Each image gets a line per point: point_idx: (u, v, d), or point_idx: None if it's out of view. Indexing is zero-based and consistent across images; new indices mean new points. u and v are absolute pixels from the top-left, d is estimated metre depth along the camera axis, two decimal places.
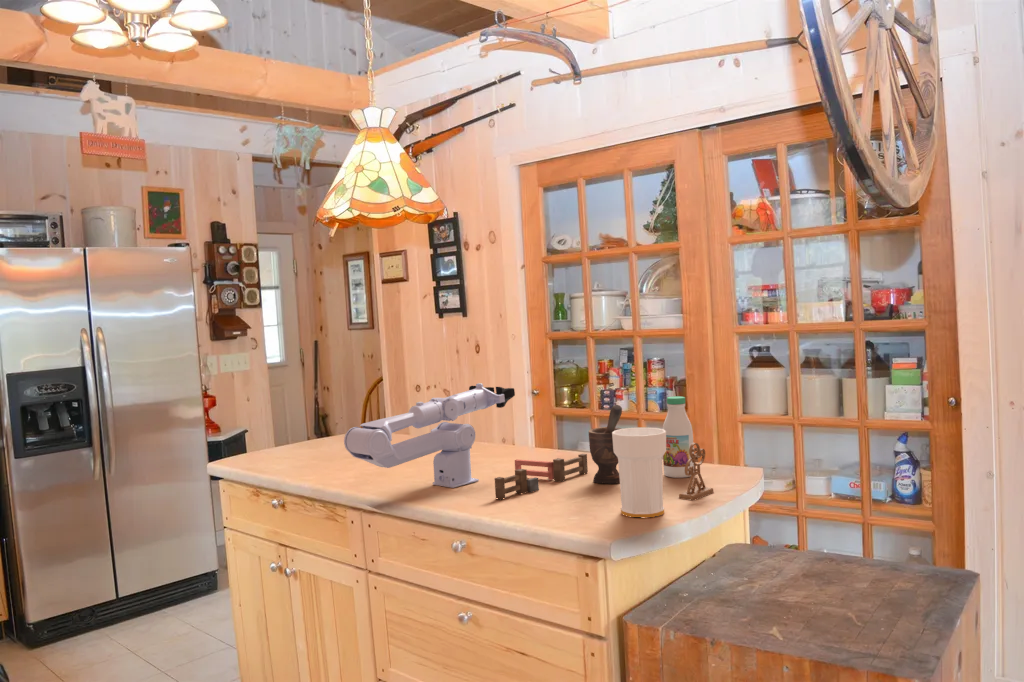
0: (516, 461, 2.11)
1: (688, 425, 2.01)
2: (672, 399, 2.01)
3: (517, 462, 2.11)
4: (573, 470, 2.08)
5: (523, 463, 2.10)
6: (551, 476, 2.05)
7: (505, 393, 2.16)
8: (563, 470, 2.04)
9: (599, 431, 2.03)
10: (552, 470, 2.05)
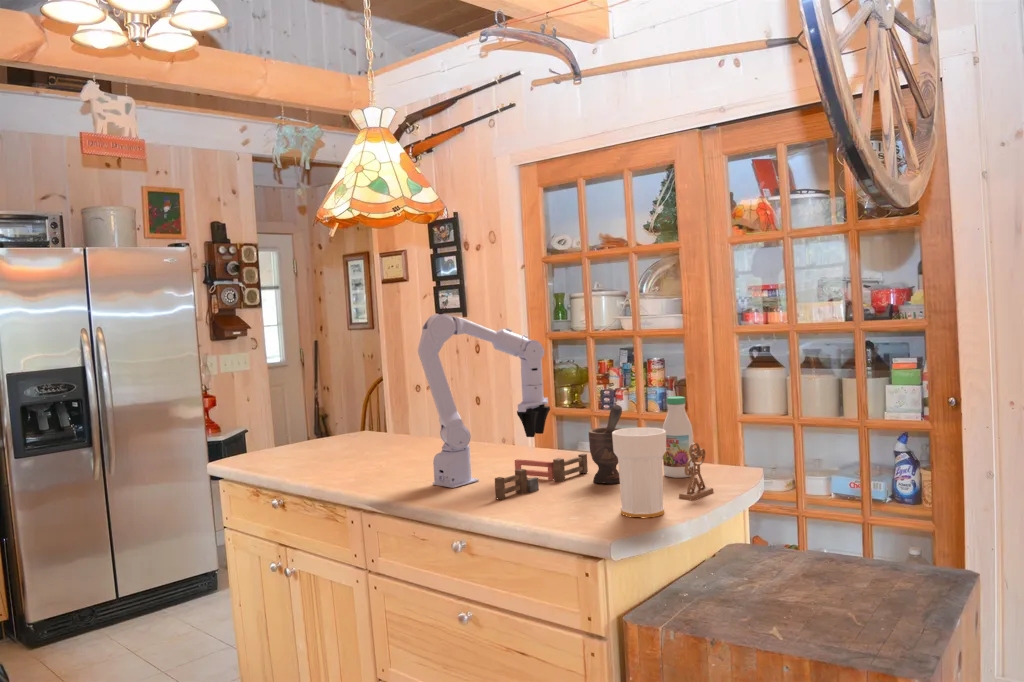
0: (516, 461, 2.11)
1: (688, 425, 2.01)
2: (672, 399, 2.01)
3: (517, 462, 2.11)
4: (573, 470, 2.08)
5: (523, 463, 2.10)
6: (551, 476, 2.05)
7: (530, 423, 2.11)
8: (563, 470, 2.04)
9: (599, 431, 2.03)
10: (552, 470, 2.05)
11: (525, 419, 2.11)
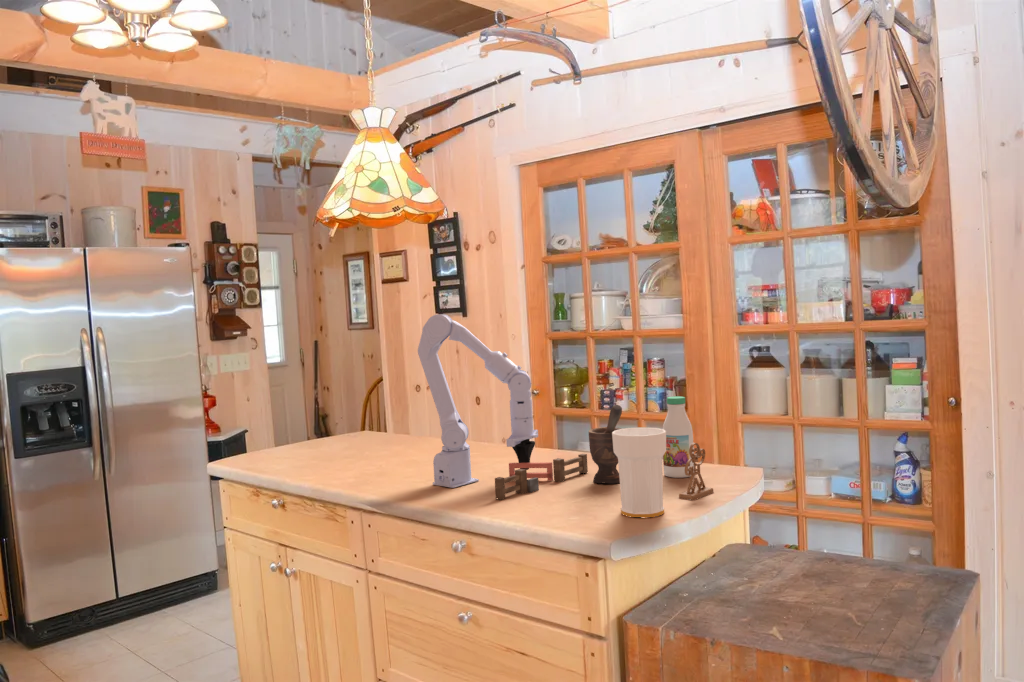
0: (510, 464, 2.07)
1: (688, 425, 2.01)
2: (672, 399, 2.01)
3: (511, 466, 2.07)
4: (573, 470, 2.08)
5: (518, 466, 2.06)
6: (551, 477, 2.05)
7: (524, 455, 2.07)
8: (563, 470, 2.04)
9: (599, 431, 2.03)
10: (551, 470, 2.05)
11: (519, 451, 2.08)
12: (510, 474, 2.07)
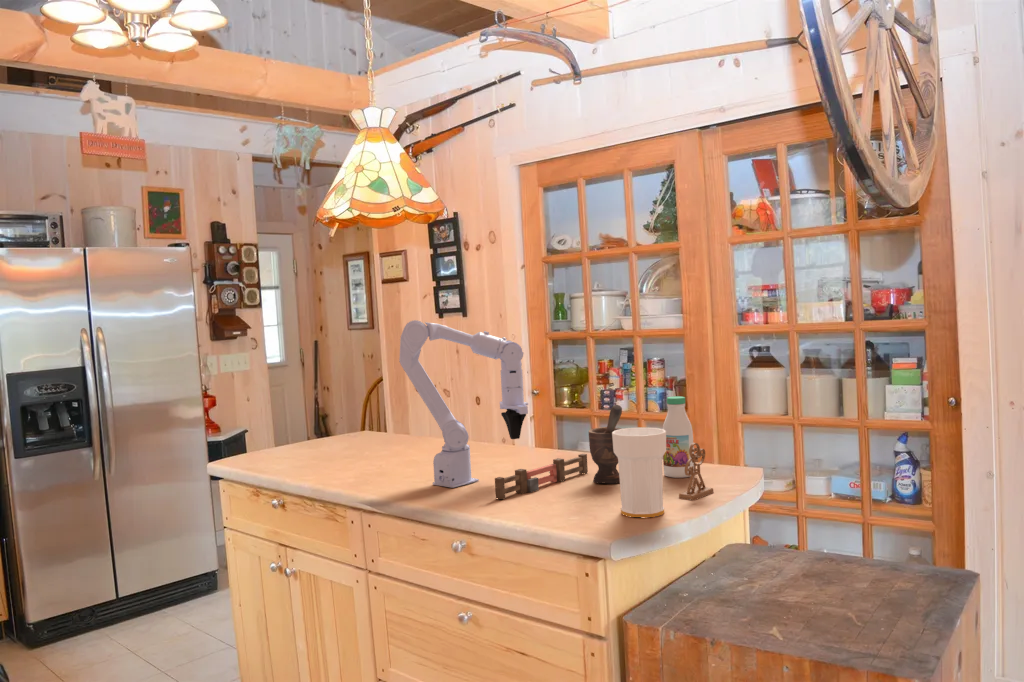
0: (528, 473, 1.95)
1: (688, 425, 2.01)
2: (672, 399, 2.01)
3: (529, 474, 1.95)
4: (573, 470, 2.08)
5: (534, 473, 1.96)
6: (556, 478, 2.03)
7: (516, 424, 2.09)
8: (563, 470, 2.04)
9: (599, 431, 2.03)
10: None
11: (512, 421, 2.09)
12: None
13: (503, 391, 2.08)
